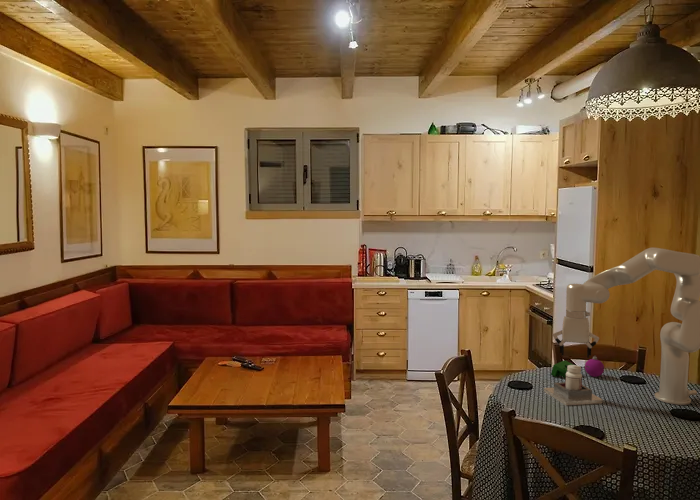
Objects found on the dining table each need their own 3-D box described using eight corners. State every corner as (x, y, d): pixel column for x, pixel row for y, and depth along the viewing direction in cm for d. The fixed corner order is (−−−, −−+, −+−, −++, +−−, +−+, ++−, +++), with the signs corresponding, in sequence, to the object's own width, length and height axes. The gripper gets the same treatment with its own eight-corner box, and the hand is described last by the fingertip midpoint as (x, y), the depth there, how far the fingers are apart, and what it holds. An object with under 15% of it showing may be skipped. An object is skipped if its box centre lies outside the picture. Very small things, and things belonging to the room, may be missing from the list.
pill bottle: (572, 390, 220) (573, 363, 219) (584, 394, 215) (585, 367, 214) (561, 392, 217) (562, 365, 216) (573, 397, 212) (575, 369, 211)
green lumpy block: (562, 387, 241) (563, 373, 236) (550, 381, 245) (551, 366, 240) (576, 373, 247) (577, 358, 242) (564, 367, 251) (565, 353, 246)
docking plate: (578, 389, 225) (578, 379, 225) (602, 403, 210) (602, 392, 209) (543, 391, 223) (544, 381, 222) (565, 405, 207) (566, 394, 207)
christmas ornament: (584, 372, 249) (585, 351, 248) (603, 374, 245) (604, 353, 245) (584, 377, 241) (585, 356, 240) (604, 380, 238) (605, 358, 237)
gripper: (599, 314, 213) (598, 355, 215) (553, 311, 220) (553, 351, 222) (599, 317, 206) (598, 360, 208) (552, 314, 213) (552, 356, 215)
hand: (575, 355), depth 215 cm, fingers open, 9 cm apart
